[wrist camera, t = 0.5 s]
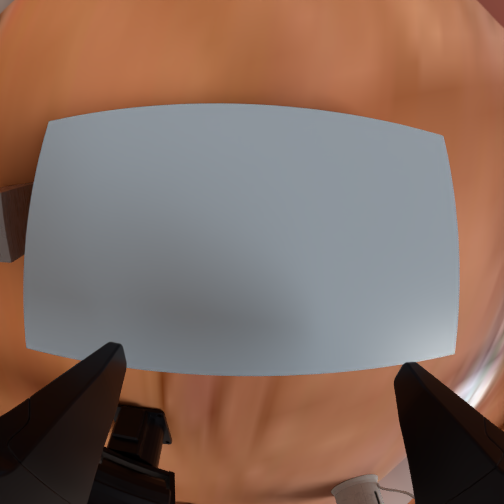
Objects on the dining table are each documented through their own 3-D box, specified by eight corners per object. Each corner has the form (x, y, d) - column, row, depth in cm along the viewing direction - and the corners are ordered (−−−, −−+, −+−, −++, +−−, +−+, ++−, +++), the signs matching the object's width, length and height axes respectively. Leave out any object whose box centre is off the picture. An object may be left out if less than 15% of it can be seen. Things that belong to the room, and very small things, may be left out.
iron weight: (46, 240, 20) (11, 262, 15) (9, 240, 20) (-25, 259, 15) (40, 181, 18) (0, 192, 14) (2, 186, 18) (-35, 198, 13)
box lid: (445, 351, 13) (454, 354, 12) (35, 345, 12) (26, 347, 11) (435, 141, 14) (443, 136, 13) (55, 127, 13) (49, 121, 12)
